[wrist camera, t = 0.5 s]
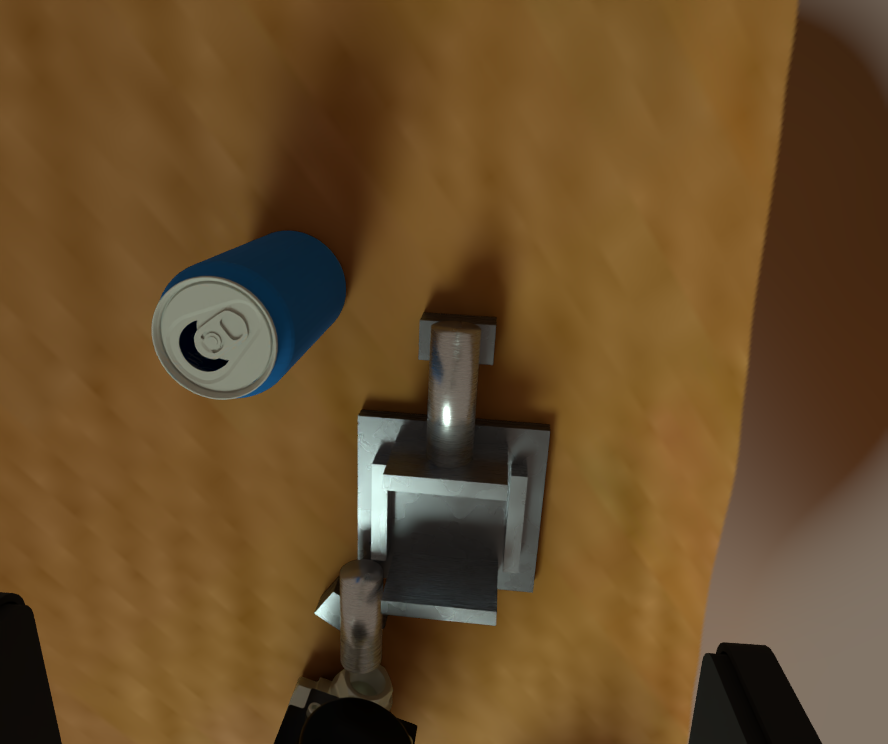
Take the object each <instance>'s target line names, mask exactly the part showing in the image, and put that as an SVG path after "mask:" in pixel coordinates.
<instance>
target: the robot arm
mask: <svg viewBox="0 0 888 744" xmlns="http://www.w3.org/2000/svg"><path fill="white" fill-rule="evenodd" d="M0 744H62V742H61V738H60V733H59V729H58V724H57V720H56V715H55V710H54V706H53V701H52V697H51V692H50V688H49V683H48V678H47V674H46V669H45V665H44V660H43V655H42V651H41V646H40V642H39V637H38V633H37V628H36V623H35V619H34V614H33V612H32V609H31V608H30V607H29V606H27V605H25V603H24V600H23V599H22V598H21V597H20V596H19V595H18V594H14V593H3V592H0ZM689 744H822V743H821V741H820V739H819V737H818V735H817V733H816V731H815V730H814V728H813V726H812V724H811V722H810V720H809V718H808V717H807V715H806V713H805V711H804V709H803V707H802V705H801V704H800V702H799V700H798V698H797V696H796V694H795V693H794V690H793V689H792V687H791V686H790V683H789V681H788V679H787V677H786V676H785V674H784V672H783V670H782V668H781V666H780V665H779V663H778V661H777V659H776V657H775V655H774V653H773V652H772V651H771V649H770V648H769V647H767V646H766V645H753V644H739V643H720V645H719V646H718V648H717V652H716V654H713V653H706V654H705V656H704V657H703V661H702V666H701V672H700V678H699V684H698V690H697V696H696V703H695V708H694V714H693V720H692V726H691V732H690V738H689Z"/></svg>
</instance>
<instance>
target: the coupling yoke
mask: <svg viewBox="0 0 888 744" xmlns="http://www.w3.org/2000/svg"><path fill="white" fill-rule="evenodd" d="M496 319H497V317H484V316H469V315H454V314H440V313H425V312H424V313H423V315H422V317H421V319H420V331H419V360H430V361H429V386H428V411H427V415H423V414H410V413H397V412H385V411H372V410H361V411H360V413H359V415H358V560H354V561H351V562H348V563H347V564H345V565H344V566H343V567H342V568H341V570H340V576H339V577H338V578H337V579H336V580H335V581H334V582H333V584H332V585H331V586H330V587H329V588H328V589H327V590H326V591H325V593H324V594H323V595H322V596H321V598H320V600H319V603H318V605H317V608H316V610H315V614H316V615H318V616H319V617H321V618H322V619H324V620H325V621H326V622H328V623H329V624H331V625H332V626H334V627H335V628H337V629H338V630H340V650H341V664H342V666H343V667H344V668H345V669H346V670H347V671H349V672H352V673H356V674H364V673H368V672H371V671H373V670H375V669H376V668H377V667H378V666H379V665H380V663H381V660H382V629H383V628H384V627H385V624H386V620H387V616H388V615H395V616H405V617H415V618H425V619H435V620H445V621H455V622H465V623H474V624H484V625H494V626H496V614H497V589H503V590H513V591H523V592H533V585H534V576H535V567H536V558H537V548H538V539H539V530H540V521H541V512H542V503H543V493H544V484H545V475H546V466H547V457H548V448H549V439H550V425H549V424H537V423H524V422H511V421H499V420H486V419H475V415H476V400H477V385H478V370H479V364H487V365H493V359H494V346H495V332H496ZM383 578H387V580H386V584H385V587H384V591H383Z"/></svg>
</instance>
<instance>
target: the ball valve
mask: <svg viewBox="0 0 888 744" xmlns="http://www.w3.org/2000/svg"><path fill="white" fill-rule="evenodd" d="M392 692H393V687H392V683H391V680H390V677H389V675H388V673H387V671H386V669H385V668H384V667H383V666H381V665H379V666H378V667H377V668H376V669H375V670H373V671H371V672H368V673H364V674H356V673H352V672H349V671H347V670H346V669H343V670H342V671H341V672H339V673H338V674H337V675H336V676H335V677H334V679H333V681H330V680H327V679H325V678H322V677H320V679H319V681H318V682H316V681H313V680H310V679H307V678H305V677H300V678H299V680H298V682H297V685H296V687H295V690H294V692H293V695H292V698H291V700H290V703H289V706H288V708H287V711H286V713H285V716H284V719H283V721H282V724H281V727H280V729H279V732H278V734H277V737H276V739H275V742H274V744H415V737H416V731H417V725H415V724H413V723H410V722H407V721H404V720H401V719H399V718H396V717H395V716H394V715H393V714H392V713H391V712H390V709H391V707H392Z"/></svg>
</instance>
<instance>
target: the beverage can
mask: <svg viewBox="0 0 888 744" xmlns="http://www.w3.org/2000/svg"><path fill="white" fill-rule="evenodd" d="M345 297H346V282H345V277H344V273H343V270H342V267H341V265H340V263H339V261H338V260H337V258H336V257H335V255H334V254H333V253H332V251H331V250H330V249H329V248H328V247H327V246H326V245H325V244H323V243H322V242H321V241H319V240H318V239H316V238H314V237H312V236H310V235H308V234H305V233H301V232H297V231H278V232H274V233H271V234H268V235H266V236H263V237H261V238H258V239H256V240H253V241H251V242H248V243H246V244H244V245H241V246H239V247H236V248H234V249H231V250H229V251H226V252H224V253H222V254H219V255H217V256H214V257H212V258H209V259H207V260H204V261H202V262H200V263H197V264H195V265H192V266H190V267H188V268H186V269H185V270H183V271H181V272H180V273H179V274H178V275H176V276H175V277H174V278H173V279H172V280H171V282H170V283H169V284H168V285H167V287H166V288H165V290H164V292H163V293H162V296H161V298H160V301H159V303H158V305H157V307H156V309H155V312H154V315H153V319H152V339H153V344H154V348H155V351H156V353H157V356H158V358H159V360H160V362H161V363H162V365H163V367H164V368H165V369H166V371H167V372H168V373H169V374H170V376H171V377H172V378H173V379H174V380H175V381H177V382H178V383H179V384H180V385H182V386H183V387H184V388H186V389H188V390H189V391H191V392H193V393H195V394H198V395H200V396H203V397H207V398H212V399H223V400H226V399H234V398H244V397H249V396H253V395H256V394H259V393H262V392H264V391H266V390H267V389H269V388H271V387H272V386H273V385H275V384H276V383H277V382H278V381H279V380H280V379H281V378H282V377H283V376H284V375H285V374H286V373H287V371H288V370H289V369H290V368H291V367H292V366H293V365H294V364H295V363H296V362H297V361H298V360H299V359H300V358H301V357H302V356H303V354H304V353H305V352H306V351H307V350H308V349H309V348H310V347H311V346H312V345H313V344H314V343H315V342H316V341H317V340H318V339H319V338H320V336H321V335H322V334H323V333H324V332H325V331H326V330H327V329H328V328H329V327H330V326H331V325H332V324H333V323H334V322H335V320H336V319H337V318H338V316H339V314H340V313H341V311H342V308H343V305H344V302H345Z"/></svg>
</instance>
